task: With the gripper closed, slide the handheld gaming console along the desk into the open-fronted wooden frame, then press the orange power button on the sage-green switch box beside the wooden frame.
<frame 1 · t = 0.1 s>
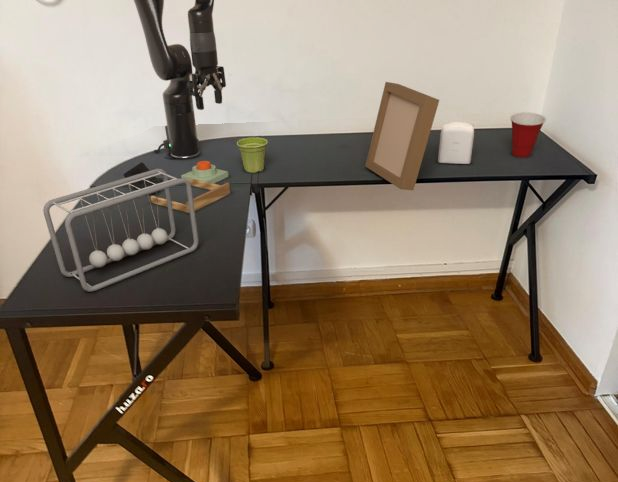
hand: (209, 106, 185), 17 cm above the table, tool pointing down, fingers open, 8 cm apart
wooden frame: (190, 197, 170), on the table
plant pot: (254, 170, 188), on the table
power button: (203, 165, 180), point 4 cm above the table, slide at 0.1 cm
photo frame: (403, 177, 181), on the table
plastic cup: (520, 155, 196), on the table
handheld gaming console: (149, 188, 177), on the table
newton's cradle: (134, 264, 137), on the table
switch box: (205, 178, 182), on the table
photo printer: (453, 163, 191), on the table
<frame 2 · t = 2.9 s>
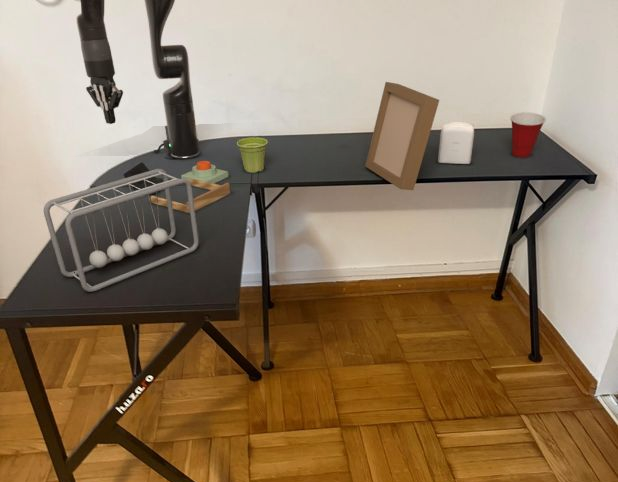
hand: (110, 123, 172), 17 cm above the table, tool pointing down, fingers closed
nothing on the table moved.
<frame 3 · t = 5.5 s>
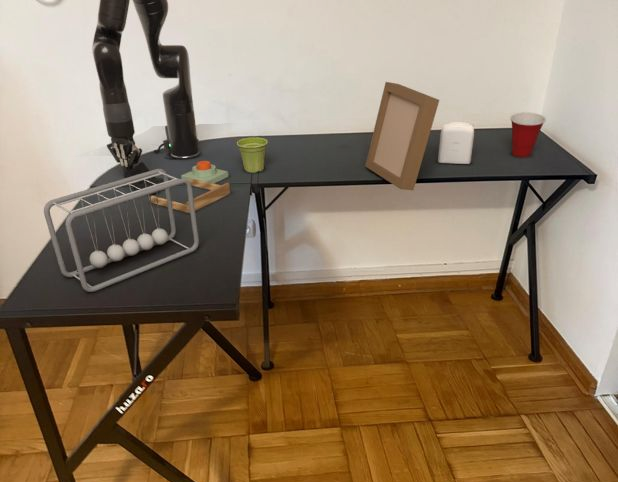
hand: (129, 177, 180), 2 cm above the table, tool pointing down, fingers closed
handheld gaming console: (149, 188, 177), on the table, touching gripper
everything else where it was.
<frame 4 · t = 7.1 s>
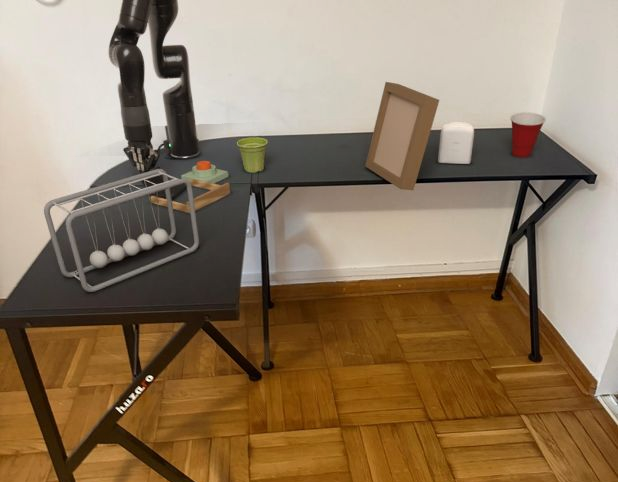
hand: (146, 182, 176), 2 cm above the table, tool pointing down, fingers closed
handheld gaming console: (166, 193, 174), on the table, touching gripper
everything else where it was.
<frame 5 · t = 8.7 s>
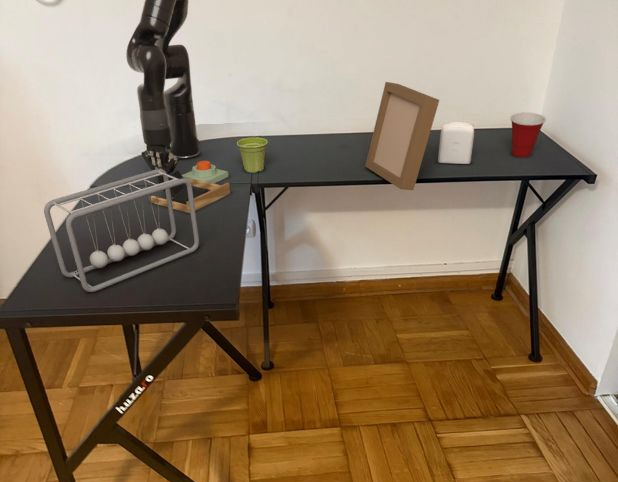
hand: (164, 186, 173), 2 cm above the table, tool pointing down, fingers closed
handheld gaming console: (185, 197, 170), on the table, touching gripper
everything else where it was.
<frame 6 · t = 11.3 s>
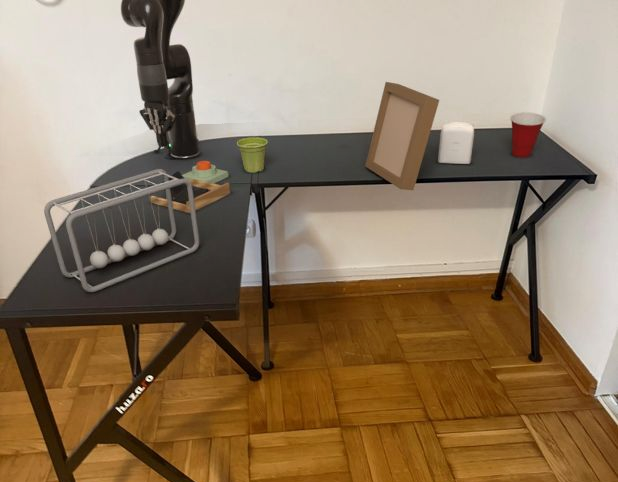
hand: (162, 145, 172), 12 cm above the table, tool pointing down, fingers closed
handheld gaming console: (186, 198, 170), on the table
everything else where it was.
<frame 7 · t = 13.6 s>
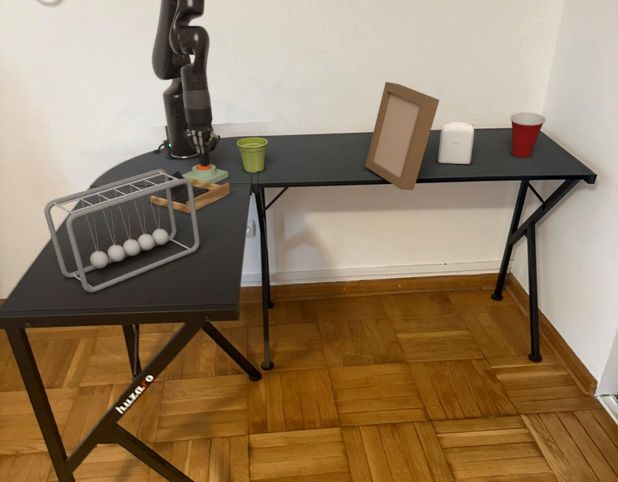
hand: (205, 165, 180), 4 cm above the table, tool pointing down, fingers closed
power button: (204, 168, 180), point 3 cm above the table, slide at -0.7 cm, touching gripper
everything else where it was.
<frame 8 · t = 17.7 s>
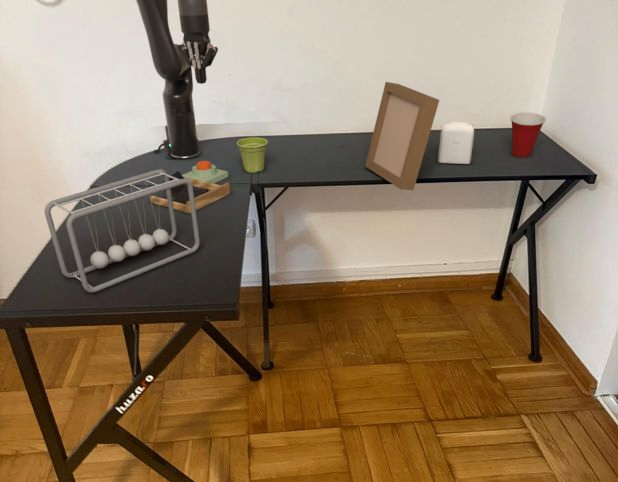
hand: (201, 82, 167), 27 cm above the table, tool pointing down, fingers closed
power button: (203, 165, 180), point 4 cm above the table, slide at 0.1 cm
everything else where it was.
at the end: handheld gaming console 0.8 cm from the target spot, on the table; power button pushed in 1.1 cm at the most during the clip, back to where it started at the end; power button slide at 0.1 cm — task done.
